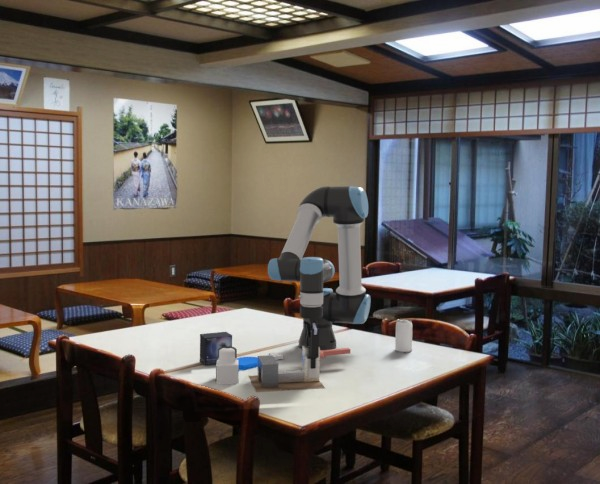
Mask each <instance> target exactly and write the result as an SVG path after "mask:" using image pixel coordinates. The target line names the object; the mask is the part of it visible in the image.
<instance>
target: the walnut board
mask: <svg viewBox="0 0 600 484" xmlns="http://www.w3.org/2000/svg"><path fill="white" fill-rule="evenodd" d="M248 377H249V379H250V382H251V384H252V386H253V388H254V390H255V392H256V393H263V392H264V393H265V392H281V391H298V390H299V391H300V390H301V391H303V390H316V389H318V390H319V389H326V387H325V385H323V383H322V382H321V381H320V380H319V381H310V382H286V383H278V387H274V388H262V386H261V381H259V380H258V374H257V375H248Z"/></svg>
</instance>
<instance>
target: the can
mask: <svg viewBox="0 0 600 484" xmlns="http://www.w3.org/2000/svg"><path fill="white" fill-rule="evenodd" d="M394 341H395V346H394V347H395V351H396V352H398V351H399V353H411V351H413V350H412V349H413V323H412V320H411V319H407V318H406V319H405V318H400V319H399V318H398V319H396V322H395V340H394Z"/></svg>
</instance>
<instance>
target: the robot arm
mask: <svg viewBox="0 0 600 484" xmlns="http://www.w3.org/2000/svg"><path fill="white" fill-rule="evenodd" d="M296 213H297V217H296V219H295V222H294V224H293V226H292V229H291V231H290V233H289V236H288V237H287V239H286V242H285V244H284V247H283V249H282V251H281V253H280V256H279V257H276V258H275V257H274V258H271V259H270V260H269V262H268V264H267V274H268V277H269V279H271V280H273V281H279V282H299V286H300V288H299V291H300V292H299V293H300V294H299V295H298V296H297V297H298V298H299V304H300V306H299V317H300V318H302V321H303V323H302V324H303V325H302V330H301V332H300V336H299V339H298V347H299V349H302V346H309V357H307V359H308V378H317V358H318V357H319V348H320V350H331V349H337V339H336V335H335V333H334V332H335V331H334V330H333V329H334V328H333V323H341V324H342V323H343V324H350V325H351V324H352V325H360V324H361V325H362V324H364V323H365V322H366V321H367V319H368V317H369V313H370V309H371V302H372V301H371V299H372V298H371V295H370V294H368V293H366V291H367V289H366V288H365V286H364V285H362V256H361V255H362V254H361V253H362V252H361V248H362V247H361V225H363V224H364V219H366V218H367V217H368V216H369V215H368V214H369V201H368V196H367V192H366V191H365V190H364V188H363V187H359V186H348V185H347V186H343V185H342V186H330V185H329V186H327V185H326V186H322V187H321V186H320V187H318V188H315V189H314V190H313V191H311V192H310V193H309V194H307V195H306V196H305V197H304V198H303V200H302V201H301V202H300V204H299V206H298V208H297V211H296ZM323 218H332V220H333V222H332V223H333V224H334V225H335V226H336V227H337V248H338V249H337V250H338V251H337V252H338V275H339V277H338V279H339V286H338V287H337V288H336V289H335V292H334V290H333V289H332V288H331V287H330V288H328V287H324V284H325V283H327V282H329V281H330V280H332V278H333V277H334V276H335V273H336V272H335V271H336V270H335V269H336V268H335V266H334V264H333V263H332V262H331V261H330V260H328V259H323V258H322V257H319V256H306V257H304V254H305V252H306V249H307V248H308V245H309V242H310V240H311V237H312V236H313V233H314V230H315V227H316V226H317V224H319V222H320V221H321V220H322V219H323Z"/></svg>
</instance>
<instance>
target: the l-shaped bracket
mask: <svg viewBox="0 0 600 484" xmlns="http://www.w3.org/2000/svg"><path fill="white" fill-rule="evenodd" d="M301 350H302V357H301V360H302V362H301V363H302V364H301V369H298V370H297V369H296V370H278V383H286V382H310V381H320V368H321V367H320V365H321V364H320V363H321V361H320V360H321V359H320V348H319V357H318V358H317V378H308V359H307V357H309V346H302V348H301Z"/></svg>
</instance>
